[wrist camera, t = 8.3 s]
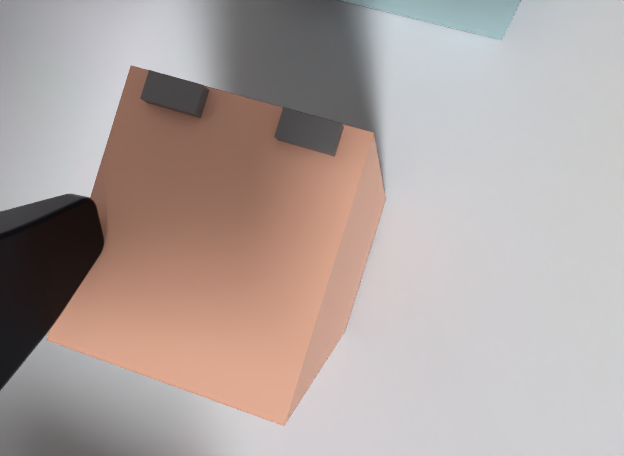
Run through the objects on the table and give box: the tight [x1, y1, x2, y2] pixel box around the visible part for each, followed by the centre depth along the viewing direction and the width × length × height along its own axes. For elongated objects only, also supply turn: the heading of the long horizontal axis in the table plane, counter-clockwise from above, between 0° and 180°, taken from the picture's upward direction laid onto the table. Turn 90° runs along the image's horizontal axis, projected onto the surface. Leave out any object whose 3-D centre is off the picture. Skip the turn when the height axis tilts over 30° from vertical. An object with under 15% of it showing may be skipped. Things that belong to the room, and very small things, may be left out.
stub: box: [47, 66, 386, 426], centre depth 16 cm, size 5×4×12 cm
